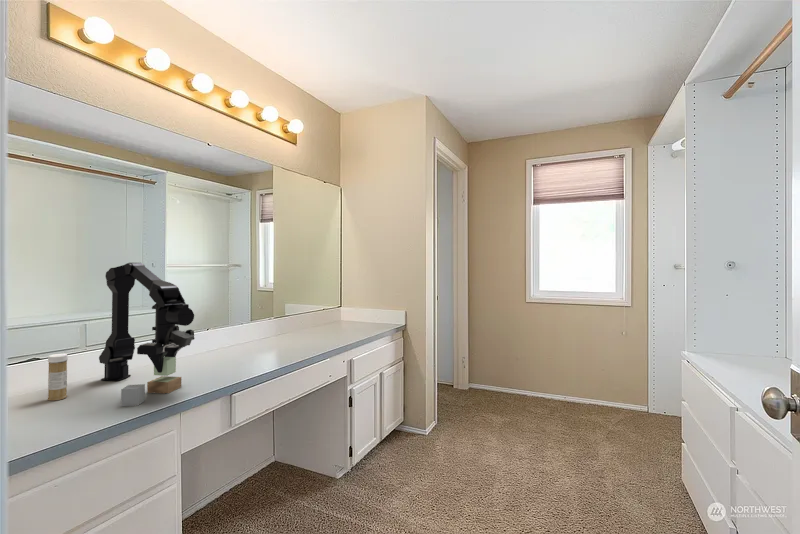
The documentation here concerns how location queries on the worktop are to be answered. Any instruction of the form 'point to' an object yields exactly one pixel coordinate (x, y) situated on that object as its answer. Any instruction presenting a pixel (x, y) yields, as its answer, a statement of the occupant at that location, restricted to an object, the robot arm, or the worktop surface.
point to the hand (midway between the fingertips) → (164, 370)
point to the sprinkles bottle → (57, 376)
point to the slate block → (133, 395)
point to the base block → (163, 384)
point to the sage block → (167, 367)
